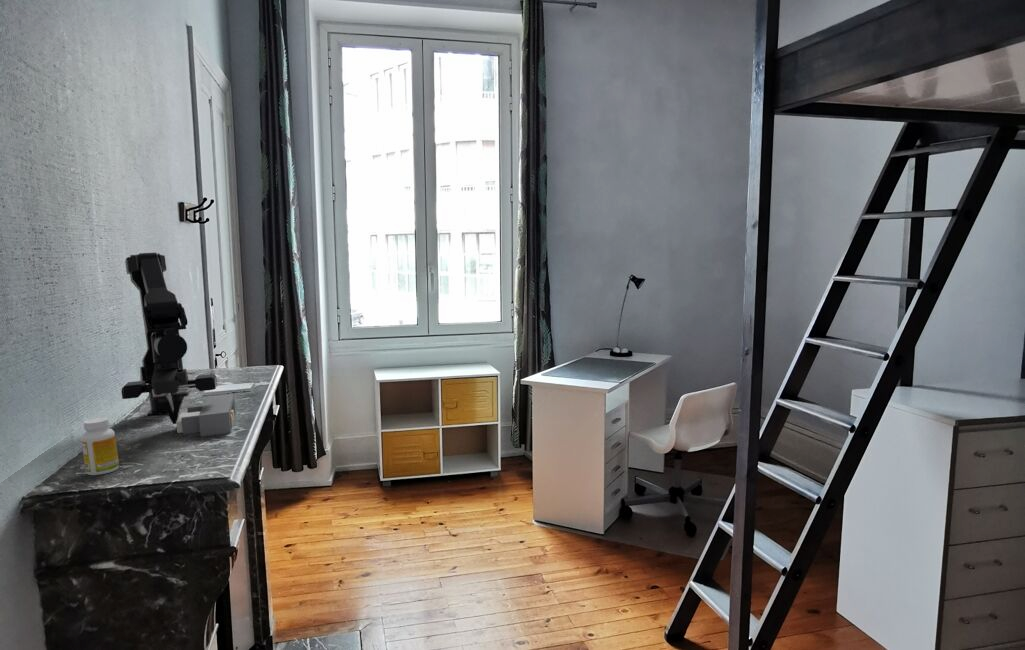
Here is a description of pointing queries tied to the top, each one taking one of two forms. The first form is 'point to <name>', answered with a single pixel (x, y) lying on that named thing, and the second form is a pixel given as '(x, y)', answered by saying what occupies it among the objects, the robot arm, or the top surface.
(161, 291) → the robot arm
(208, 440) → the top surface
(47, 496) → the top surface
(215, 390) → the hard drive
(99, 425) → the supplement bottle
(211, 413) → the dock
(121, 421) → the top surface
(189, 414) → the white flat block
